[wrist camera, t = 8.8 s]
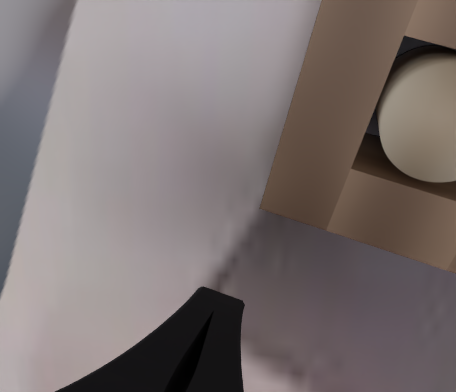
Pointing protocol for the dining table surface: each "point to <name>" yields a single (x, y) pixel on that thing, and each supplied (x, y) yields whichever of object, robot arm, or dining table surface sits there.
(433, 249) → the walnut block
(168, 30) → the dining table surface
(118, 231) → the dining table surface
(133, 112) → the dining table surface
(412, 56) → the peg
